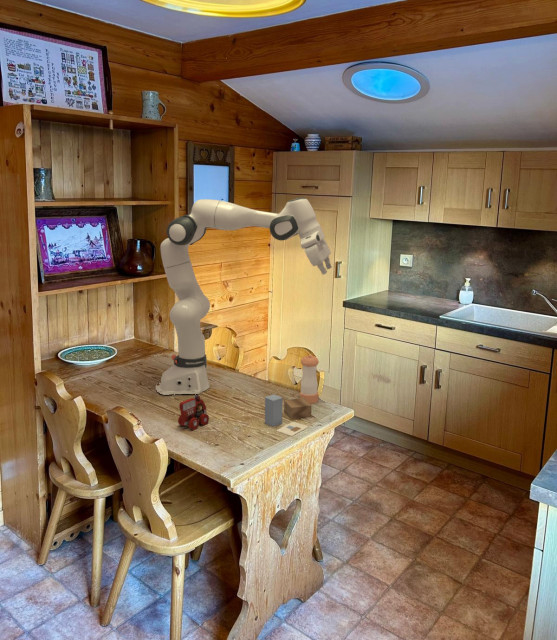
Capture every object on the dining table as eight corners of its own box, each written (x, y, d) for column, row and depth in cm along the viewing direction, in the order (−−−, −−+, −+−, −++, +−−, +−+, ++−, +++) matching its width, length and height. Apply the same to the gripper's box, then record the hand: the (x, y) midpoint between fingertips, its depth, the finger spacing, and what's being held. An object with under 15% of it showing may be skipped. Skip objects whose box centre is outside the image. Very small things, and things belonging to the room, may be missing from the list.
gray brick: (273, 426, 219) (273, 400, 217) (264, 422, 223) (264, 397, 220) (282, 423, 222) (282, 397, 220) (273, 419, 226) (273, 394, 223)
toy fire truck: (212, 421, 224) (212, 395, 221) (188, 433, 214) (187, 405, 211) (199, 417, 228) (198, 390, 225) (174, 427, 218) (173, 400, 215)
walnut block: (291, 420, 225) (291, 407, 224) (284, 412, 233) (284, 400, 232) (311, 417, 228) (311, 405, 227) (303, 409, 235) (303, 397, 234)
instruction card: (291, 436, 212) (291, 435, 211) (276, 431, 216) (276, 430, 216) (308, 427, 219) (308, 426, 219) (293, 422, 223) (293, 421, 223)
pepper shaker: (320, 398, 246) (321, 353, 241) (314, 405, 239) (315, 358, 235) (303, 396, 249) (304, 351, 244) (297, 402, 242) (297, 356, 237)
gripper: (311, 236, 241) (325, 268, 243) (299, 245, 222) (314, 280, 224) (325, 230, 239) (339, 262, 241) (314, 238, 220) (329, 273, 222)
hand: (327, 271), depth 233 cm, fingers open, 8 cm apart
